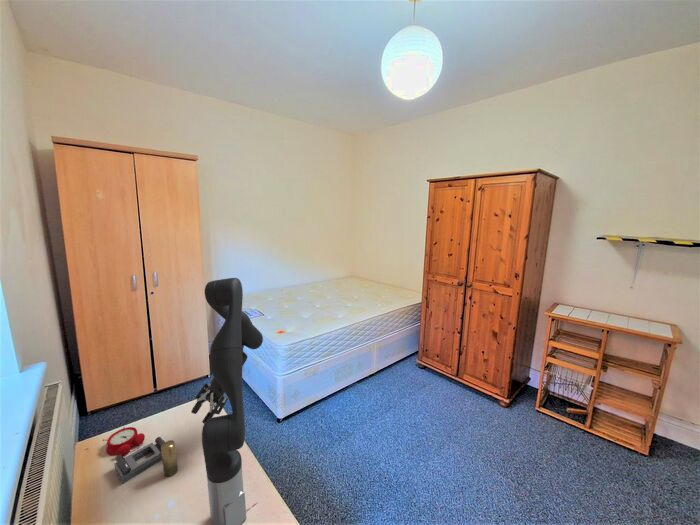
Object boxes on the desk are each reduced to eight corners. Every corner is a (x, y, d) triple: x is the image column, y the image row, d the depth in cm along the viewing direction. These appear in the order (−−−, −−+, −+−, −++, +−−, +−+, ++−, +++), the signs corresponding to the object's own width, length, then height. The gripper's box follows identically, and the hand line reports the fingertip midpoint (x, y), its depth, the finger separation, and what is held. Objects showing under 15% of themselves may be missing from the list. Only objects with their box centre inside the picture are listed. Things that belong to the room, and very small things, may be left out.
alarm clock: (127, 422, 117) (149, 426, 111) (131, 436, 117) (153, 441, 111) (96, 441, 107) (119, 446, 101) (101, 456, 108) (123, 462, 102)
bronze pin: (179, 471, 99) (176, 444, 97) (167, 479, 96) (163, 451, 94) (174, 465, 102) (171, 438, 100) (162, 473, 98) (158, 445, 96)
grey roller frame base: (172, 454, 106) (171, 442, 105) (123, 484, 94) (121, 471, 93) (163, 442, 111) (161, 431, 110) (114, 470, 99) (112, 458, 98)
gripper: (209, 366, 113) (181, 407, 106) (229, 379, 105) (200, 424, 98) (223, 372, 118) (197, 412, 111) (242, 385, 110) (216, 429, 103)
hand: (198, 418), depth 105 cm, fingers open, 8 cm apart
